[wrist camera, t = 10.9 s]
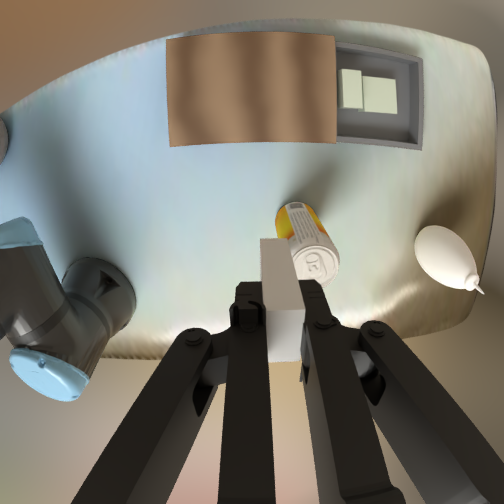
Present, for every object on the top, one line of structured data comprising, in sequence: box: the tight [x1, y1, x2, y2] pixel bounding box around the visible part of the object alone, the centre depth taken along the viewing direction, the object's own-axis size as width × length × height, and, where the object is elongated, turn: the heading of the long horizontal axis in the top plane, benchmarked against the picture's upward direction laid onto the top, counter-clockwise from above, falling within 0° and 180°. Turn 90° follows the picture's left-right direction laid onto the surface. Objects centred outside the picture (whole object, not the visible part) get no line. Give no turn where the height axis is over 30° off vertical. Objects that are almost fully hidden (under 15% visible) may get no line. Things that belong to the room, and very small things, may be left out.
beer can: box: [275, 202, 340, 288], centre depth 37 cm, size 6×6×15 cm
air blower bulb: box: [415, 225, 484, 294], centre depth 37 cm, size 8×8×18 cm
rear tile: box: [358, 76, 397, 114], centre depth 34 cm, size 5×5×2 cm
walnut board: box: [166, 32, 337, 147], centre depth 33 cm, size 20×14×6 cm
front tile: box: [337, 69, 363, 109], centre depth 32 cm, size 5×5×2 cm
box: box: [335, 41, 424, 151], centre depth 34 cm, size 14×14×4 cm
